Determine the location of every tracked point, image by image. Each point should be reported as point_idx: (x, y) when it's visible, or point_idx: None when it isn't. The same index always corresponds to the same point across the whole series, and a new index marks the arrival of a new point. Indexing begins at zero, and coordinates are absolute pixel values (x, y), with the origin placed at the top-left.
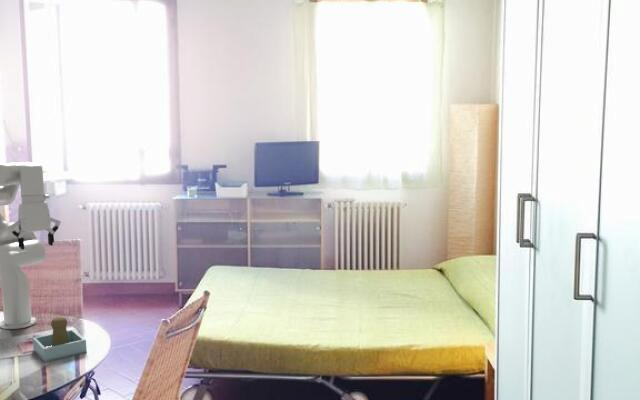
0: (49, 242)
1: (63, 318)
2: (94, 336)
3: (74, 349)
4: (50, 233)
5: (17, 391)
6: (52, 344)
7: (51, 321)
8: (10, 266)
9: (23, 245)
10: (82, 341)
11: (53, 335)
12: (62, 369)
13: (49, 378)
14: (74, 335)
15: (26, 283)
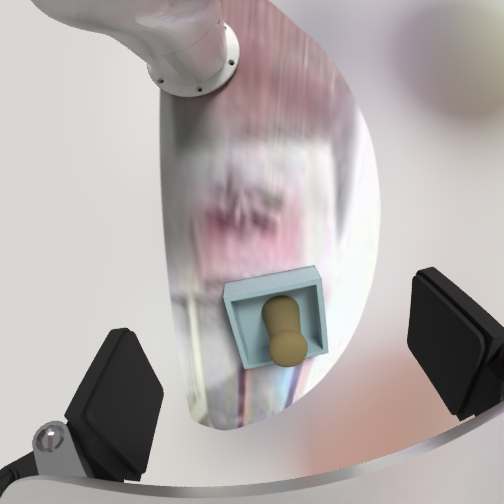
0: (421, 325)
1: (300, 359)
2: (360, 250)
3: None
4: (478, 410)
5: (205, 420)
6: (264, 323)
7: (270, 354)
8: (113, 32)
9: (153, 418)
10: (321, 352)
11: (269, 337)
12: (269, 386)
13: (247, 405)
14: (317, 299)
15: (208, 28)
